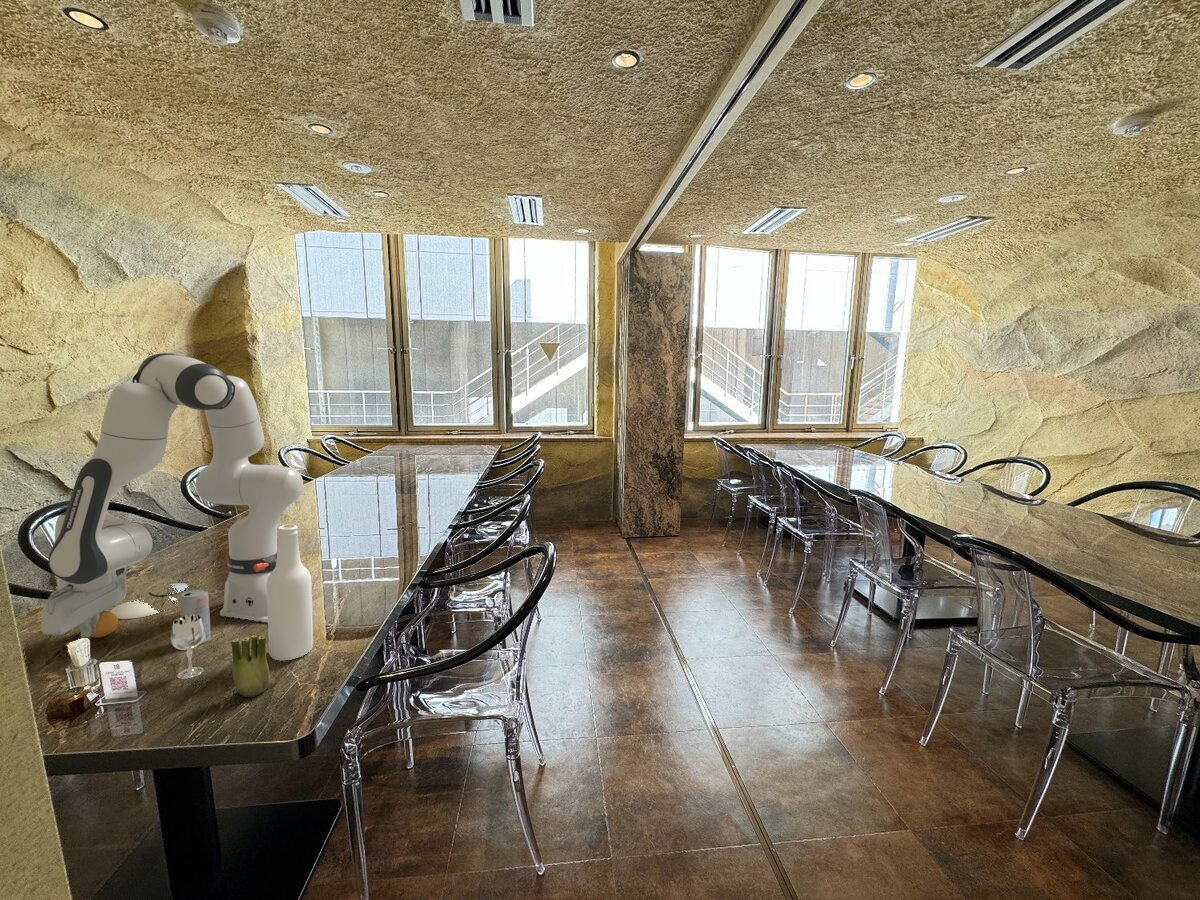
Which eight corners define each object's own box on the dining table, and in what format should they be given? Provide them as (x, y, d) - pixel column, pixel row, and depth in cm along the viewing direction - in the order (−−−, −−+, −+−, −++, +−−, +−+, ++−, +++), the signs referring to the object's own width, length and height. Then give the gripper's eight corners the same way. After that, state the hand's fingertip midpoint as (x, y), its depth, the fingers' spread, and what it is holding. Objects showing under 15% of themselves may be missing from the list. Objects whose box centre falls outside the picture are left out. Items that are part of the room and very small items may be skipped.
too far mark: (196, 587, 155) (196, 586, 155) (162, 598, 147) (162, 597, 147) (177, 581, 159) (177, 581, 159) (142, 592, 150) (142, 591, 150)
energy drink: (187, 637, 127) (184, 589, 125) (214, 634, 129) (211, 587, 127) (178, 648, 122) (175, 598, 120) (206, 644, 124) (203, 596, 122)
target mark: (189, 602, 145) (189, 602, 145) (128, 623, 132) (128, 622, 132) (158, 593, 150) (158, 592, 150) (96, 612, 137) (96, 611, 137)
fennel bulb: (230, 697, 105) (227, 640, 103) (250, 683, 109) (247, 629, 108) (256, 701, 104) (253, 644, 102) (275, 687, 109) (272, 632, 107)
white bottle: (264, 651, 122) (259, 525, 118) (306, 639, 128) (303, 519, 124) (275, 667, 116) (269, 534, 112) (318, 653, 122) (315, 527, 118)
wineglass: (213, 666, 115) (211, 613, 114) (194, 681, 110) (191, 626, 108) (186, 665, 115) (183, 613, 113) (166, 680, 109) (162, 625, 108)
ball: (122, 635, 126) (124, 609, 127) (90, 641, 121) (92, 614, 122) (108, 633, 129) (110, 607, 129) (76, 639, 123) (79, 612, 124)
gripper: (64, 595, 110) (68, 657, 112) (131, 562, 130) (134, 616, 132) (28, 595, 109) (33, 658, 111) (102, 562, 129) (105, 616, 131)
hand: (88, 635), depth 121 cm, fingers closed
